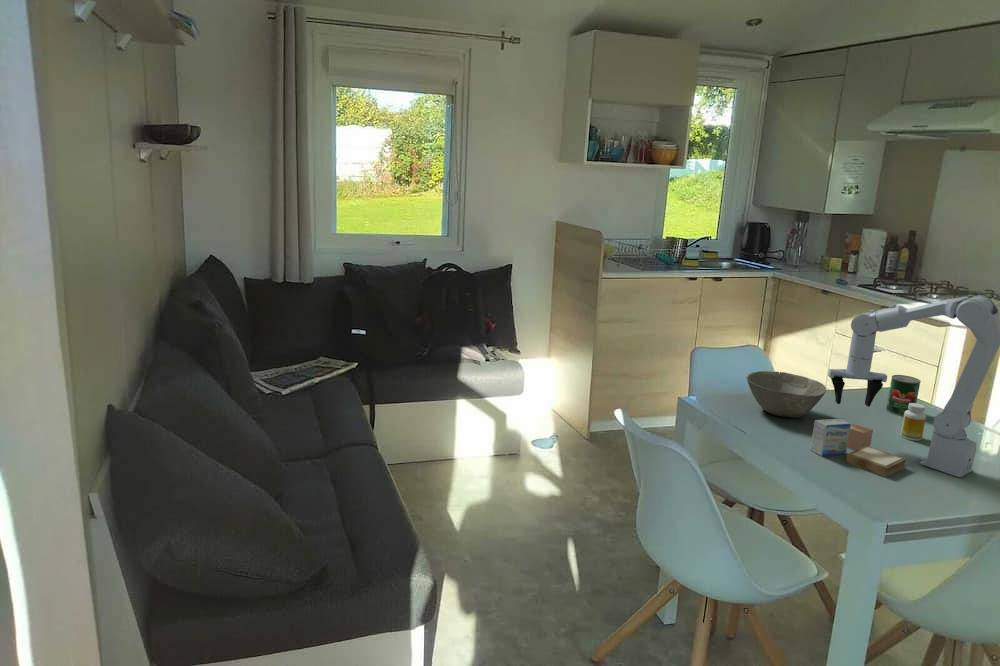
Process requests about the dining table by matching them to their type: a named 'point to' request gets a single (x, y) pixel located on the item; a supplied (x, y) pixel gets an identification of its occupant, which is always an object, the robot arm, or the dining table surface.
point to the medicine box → (830, 437)
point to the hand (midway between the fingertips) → (852, 404)
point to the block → (859, 437)
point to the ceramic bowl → (785, 392)
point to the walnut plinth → (876, 461)
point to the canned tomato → (902, 393)
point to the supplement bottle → (913, 422)
